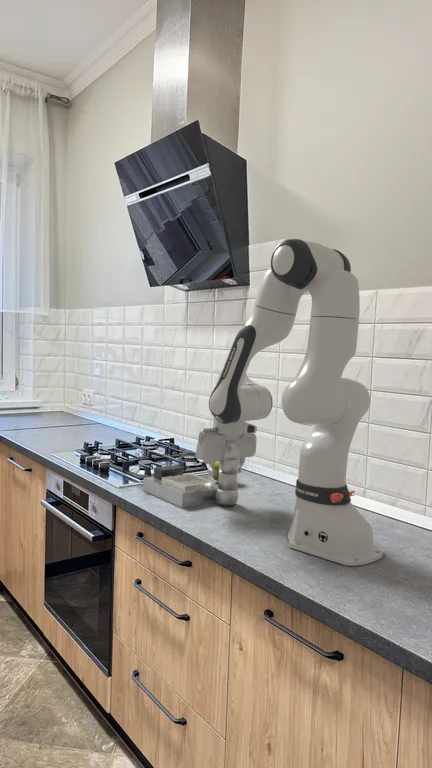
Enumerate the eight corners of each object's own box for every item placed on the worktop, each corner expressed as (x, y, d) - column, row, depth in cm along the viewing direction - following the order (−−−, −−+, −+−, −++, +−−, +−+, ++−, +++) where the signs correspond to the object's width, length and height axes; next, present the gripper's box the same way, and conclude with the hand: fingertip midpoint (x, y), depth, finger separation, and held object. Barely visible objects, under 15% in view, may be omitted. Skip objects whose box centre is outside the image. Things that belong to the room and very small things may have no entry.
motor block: (220, 500, 156) (221, 477, 156) (181, 507, 147) (183, 482, 147) (174, 482, 174) (175, 461, 173) (137, 488, 165) (138, 465, 164)
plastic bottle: (211, 506, 150) (215, 436, 149) (220, 500, 157) (223, 433, 156) (233, 509, 148) (237, 438, 147) (240, 503, 155) (244, 435, 153)
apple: (241, 483, 177) (242, 460, 177) (219, 486, 172) (220, 462, 172) (227, 478, 184) (229, 455, 183) (205, 480, 179) (207, 457, 178)
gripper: (206, 430, 143) (203, 481, 144) (261, 426, 156) (257, 473, 157) (192, 426, 148) (189, 475, 149) (246, 423, 161) (243, 468, 162)
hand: (225, 474), depth 153 cm, fingers open, 8 cm apart
